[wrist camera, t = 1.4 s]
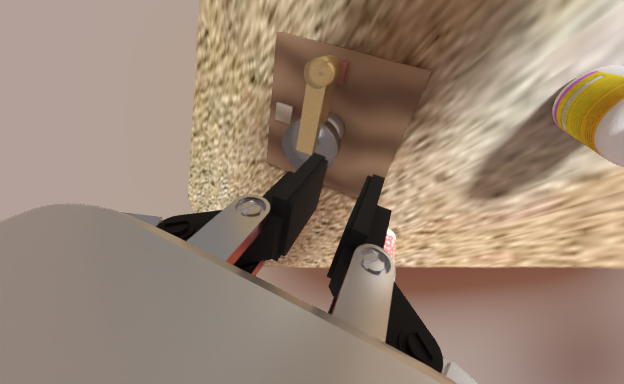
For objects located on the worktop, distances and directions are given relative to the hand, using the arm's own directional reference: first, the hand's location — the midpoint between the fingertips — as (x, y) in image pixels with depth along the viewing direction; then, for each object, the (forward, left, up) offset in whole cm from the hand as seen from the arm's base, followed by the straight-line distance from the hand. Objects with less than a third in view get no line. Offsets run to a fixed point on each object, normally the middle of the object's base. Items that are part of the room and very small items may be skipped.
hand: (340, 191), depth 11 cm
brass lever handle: (+3, -7, -18) cm, 19 cm away
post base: (+6, -7, -25) cm, 27 cm away
